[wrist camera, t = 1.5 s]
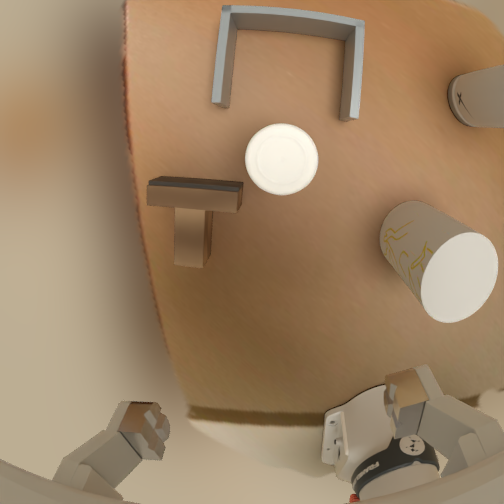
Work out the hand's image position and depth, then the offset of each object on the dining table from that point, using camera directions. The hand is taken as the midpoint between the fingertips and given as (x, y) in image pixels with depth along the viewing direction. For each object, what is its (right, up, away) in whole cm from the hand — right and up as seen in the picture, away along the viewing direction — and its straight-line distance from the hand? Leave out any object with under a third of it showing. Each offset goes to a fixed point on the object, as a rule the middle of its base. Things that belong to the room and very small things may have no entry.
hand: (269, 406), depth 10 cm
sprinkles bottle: (+2, +15, +21) cm, 26 cm away
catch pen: (+3, +24, +18) cm, 30 cm away
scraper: (-6, +9, +24) cm, 27 cm away
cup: (+18, +7, +23) cm, 30 cm away
